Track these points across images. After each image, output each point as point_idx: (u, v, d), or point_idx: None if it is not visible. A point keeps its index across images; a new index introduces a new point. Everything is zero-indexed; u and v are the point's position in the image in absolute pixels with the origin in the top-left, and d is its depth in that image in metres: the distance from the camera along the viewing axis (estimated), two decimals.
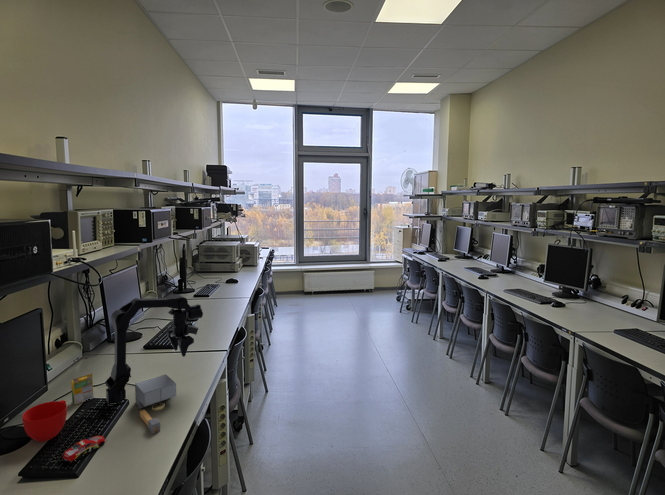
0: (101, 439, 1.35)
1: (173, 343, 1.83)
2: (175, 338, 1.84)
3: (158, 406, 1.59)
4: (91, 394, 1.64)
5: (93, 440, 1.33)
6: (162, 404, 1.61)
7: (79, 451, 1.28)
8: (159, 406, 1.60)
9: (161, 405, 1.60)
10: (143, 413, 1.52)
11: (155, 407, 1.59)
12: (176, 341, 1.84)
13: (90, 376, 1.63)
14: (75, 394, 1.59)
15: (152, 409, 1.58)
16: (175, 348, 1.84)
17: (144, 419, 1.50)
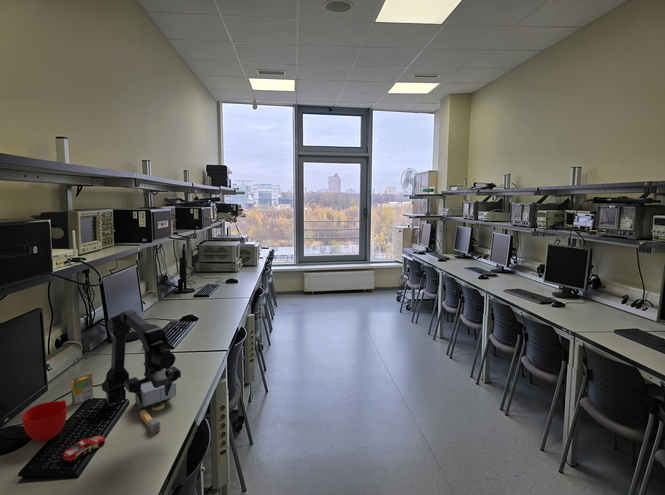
0: (101, 439, 1.35)
1: (165, 385, 1.47)
2: (167, 381, 1.47)
3: (158, 406, 1.59)
4: (91, 394, 1.64)
5: (93, 440, 1.33)
6: (162, 404, 1.61)
7: (79, 451, 1.28)
8: (159, 406, 1.60)
9: (161, 405, 1.60)
10: (143, 413, 1.52)
11: (155, 407, 1.59)
12: (166, 385, 1.46)
13: (90, 376, 1.63)
14: (75, 394, 1.59)
15: (152, 409, 1.58)
16: (165, 392, 1.47)
17: (144, 419, 1.50)
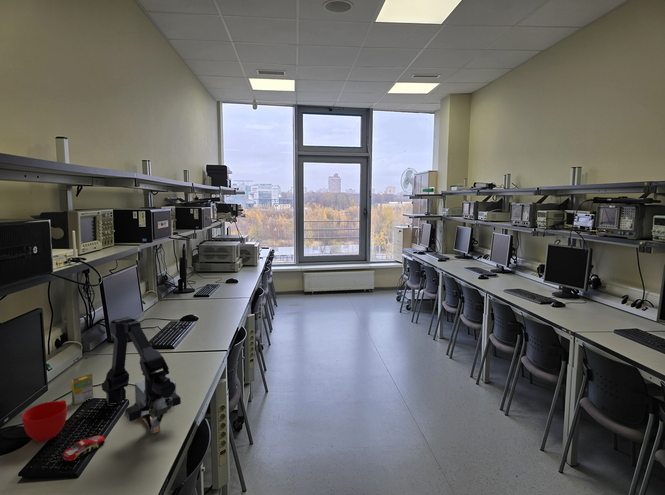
0: (101, 439, 1.35)
1: None
2: None
3: None
4: (91, 394, 1.64)
5: (93, 440, 1.33)
6: None
7: (79, 451, 1.28)
8: None
9: None
10: None
11: None
12: (159, 415, 1.45)
13: (90, 376, 1.63)
14: (75, 394, 1.59)
15: None
16: None
17: (144, 419, 1.50)
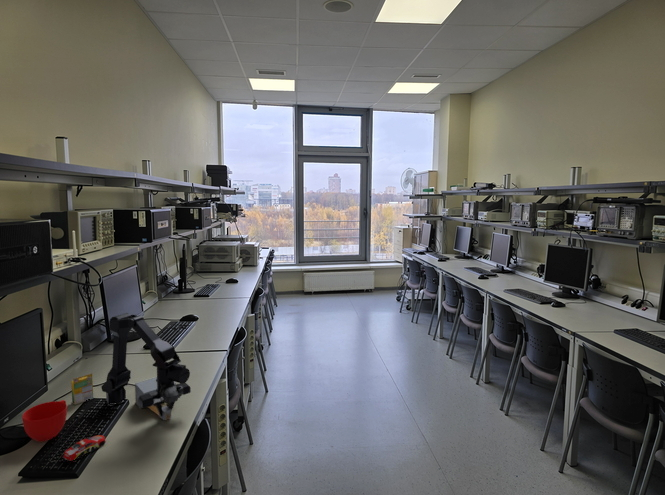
0: (101, 439, 1.35)
1: (168, 402, 1.54)
2: None
3: None
4: (91, 394, 1.64)
5: (93, 440, 1.34)
6: (164, 403, 1.62)
7: (79, 451, 1.28)
8: None
9: (163, 404, 1.61)
10: None
11: None
12: (170, 403, 1.53)
13: (90, 376, 1.63)
14: (75, 394, 1.59)
15: None
16: None
17: (152, 408, 1.56)
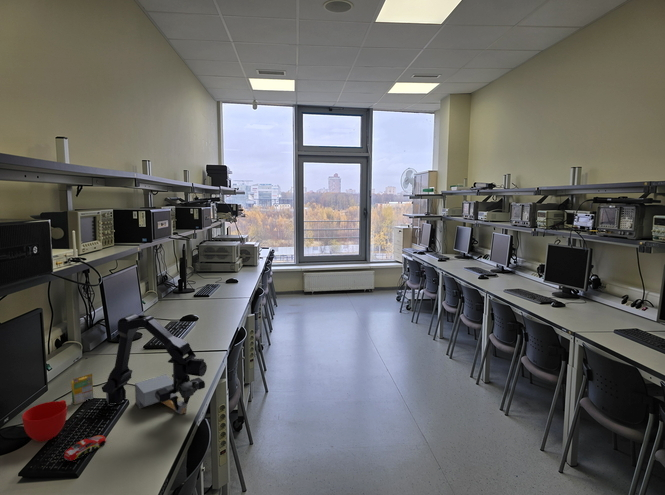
0: (102, 439, 1.35)
1: None
2: None
3: None
4: (91, 394, 1.64)
5: (94, 440, 1.34)
6: None
7: (80, 450, 1.28)
8: None
9: None
10: None
11: None
12: (185, 397, 1.58)
13: (90, 376, 1.63)
14: (75, 394, 1.59)
15: None
16: None
17: (167, 403, 1.61)
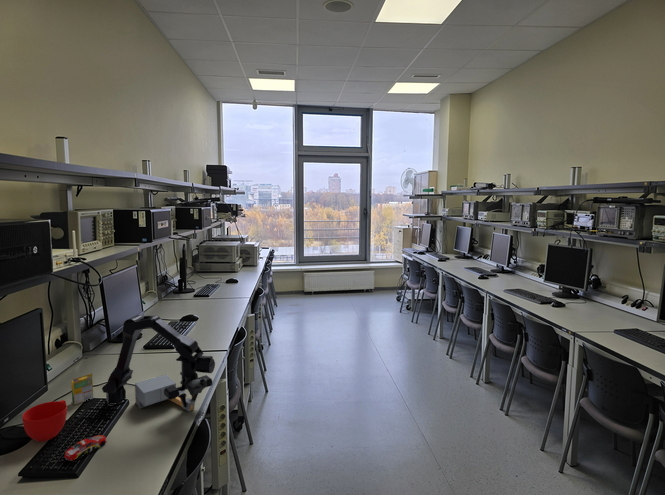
0: (102, 439, 1.35)
1: (192, 394, 1.61)
2: None
3: None
4: (91, 394, 1.64)
5: (94, 440, 1.34)
6: None
7: (80, 450, 1.28)
8: None
9: None
10: None
11: None
12: (193, 395, 1.60)
13: (90, 376, 1.63)
14: (75, 394, 1.60)
15: None
16: None
17: (175, 400, 1.63)
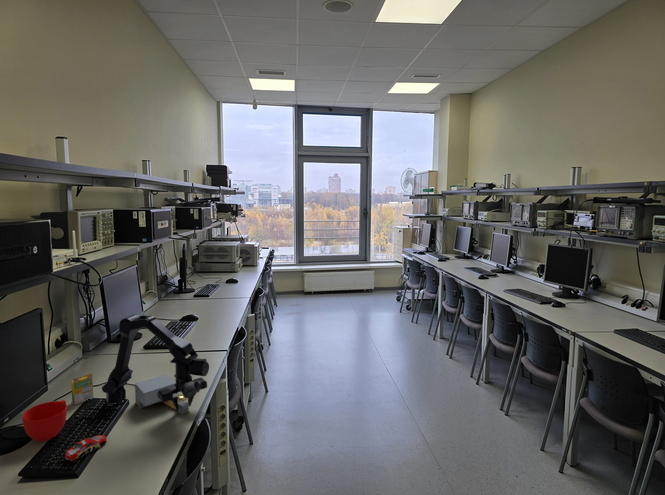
0: (103, 439, 1.35)
1: None
2: None
3: (181, 397, 1.67)
4: (91, 394, 1.64)
5: (95, 439, 1.34)
6: None
7: (80, 450, 1.28)
8: (182, 397, 1.67)
9: (183, 396, 1.68)
10: None
11: None
12: (190, 396, 1.59)
13: (90, 376, 1.63)
14: (75, 394, 1.59)
15: None
16: None
17: (169, 403, 1.62)
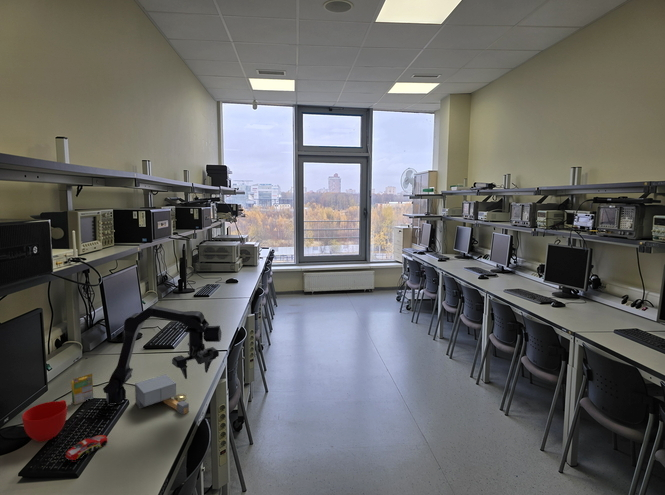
0: (103, 438, 1.35)
1: (205, 363, 1.68)
2: None
3: (181, 397, 1.67)
4: (91, 394, 1.64)
5: (95, 439, 1.34)
6: (184, 395, 1.69)
7: (81, 450, 1.28)
8: (182, 397, 1.67)
9: (183, 396, 1.68)
10: None
11: (178, 398, 1.66)
12: (206, 363, 1.67)
13: (90, 376, 1.63)
14: (75, 394, 1.59)
15: (175, 400, 1.66)
16: (205, 370, 1.68)
17: (169, 403, 1.62)
